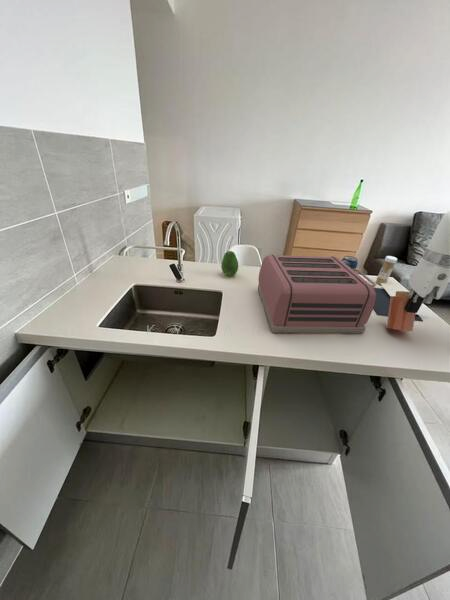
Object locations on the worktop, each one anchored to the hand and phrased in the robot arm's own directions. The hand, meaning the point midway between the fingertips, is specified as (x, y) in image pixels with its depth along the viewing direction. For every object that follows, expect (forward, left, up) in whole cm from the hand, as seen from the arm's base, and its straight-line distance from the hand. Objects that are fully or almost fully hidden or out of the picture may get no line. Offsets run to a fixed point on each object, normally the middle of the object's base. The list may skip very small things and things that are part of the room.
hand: (410, 311), depth 78 cm
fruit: (+64, -29, -10) cm, 71 cm away
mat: (-5, -23, -10) cm, 26 cm away
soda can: (+10, -38, -10) cm, 41 cm away
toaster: (+29, -8, -10) cm, 32 cm away
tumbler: (0, -1, -8) cm, 8 cm away
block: (0, -5, 0) cm, 6 cm away
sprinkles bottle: (-8, -41, -10) cm, 43 cm away
